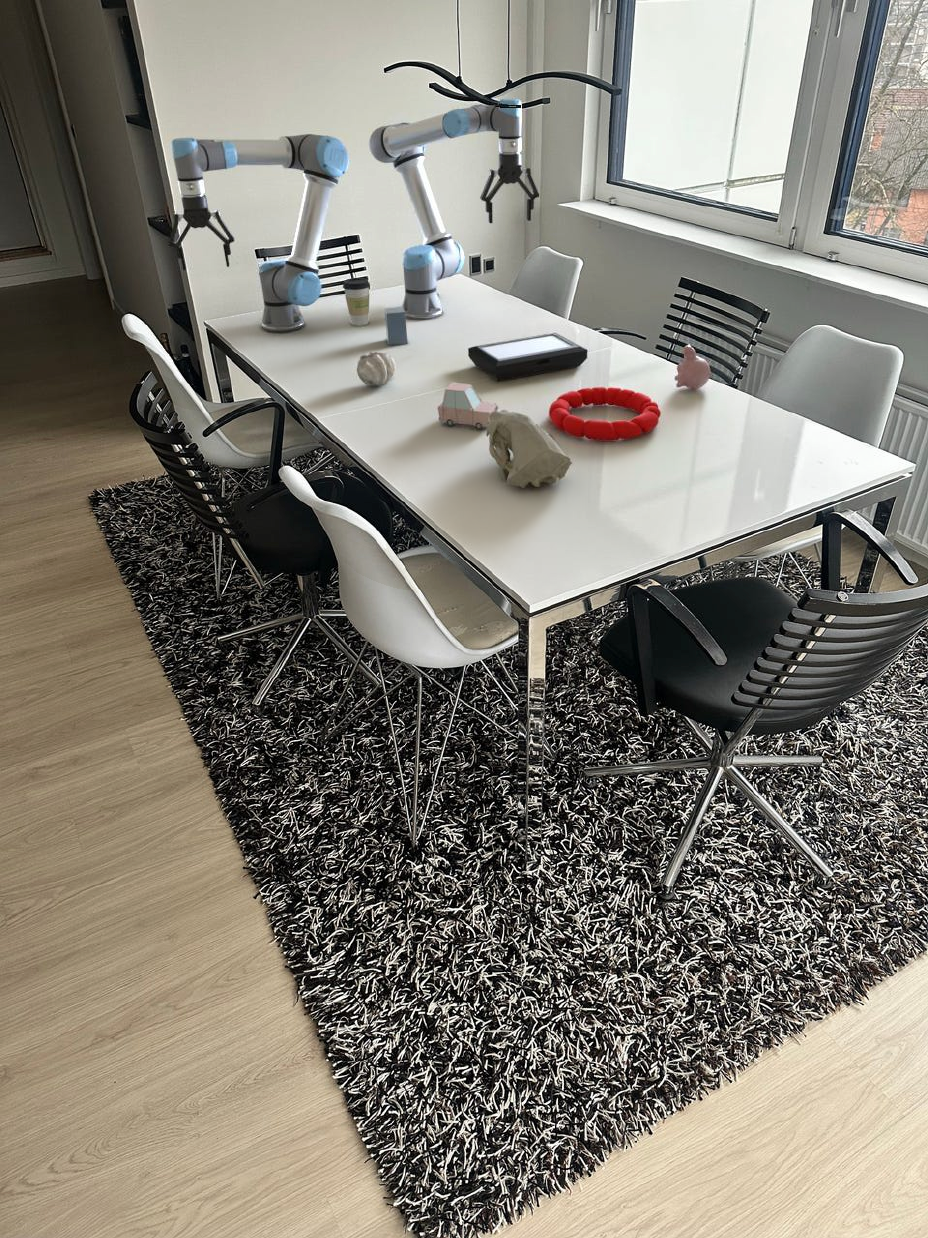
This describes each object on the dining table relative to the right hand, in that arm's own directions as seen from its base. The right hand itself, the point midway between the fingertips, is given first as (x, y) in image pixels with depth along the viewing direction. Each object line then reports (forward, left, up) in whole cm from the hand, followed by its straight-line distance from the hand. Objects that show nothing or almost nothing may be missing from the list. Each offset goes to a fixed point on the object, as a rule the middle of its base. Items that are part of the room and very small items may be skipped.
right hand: (509, 221), depth 308 cm
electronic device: (+51, +15, -33) cm, 63 cm away
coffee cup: (+13, -53, -33) cm, 64 cm away
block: (+32, -34, -33) cm, 57 cm away
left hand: (+54, -89, -5) cm, 104 cm away
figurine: (+64, +66, -33) cm, 98 cm away
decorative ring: (+93, +43, -33) cm, 108 cm away
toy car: (+100, +6, -33) cm, 105 cm away
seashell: (+75, -27, -33) cm, 86 cm away
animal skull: (+127, +26, -33) cm, 134 cm away
